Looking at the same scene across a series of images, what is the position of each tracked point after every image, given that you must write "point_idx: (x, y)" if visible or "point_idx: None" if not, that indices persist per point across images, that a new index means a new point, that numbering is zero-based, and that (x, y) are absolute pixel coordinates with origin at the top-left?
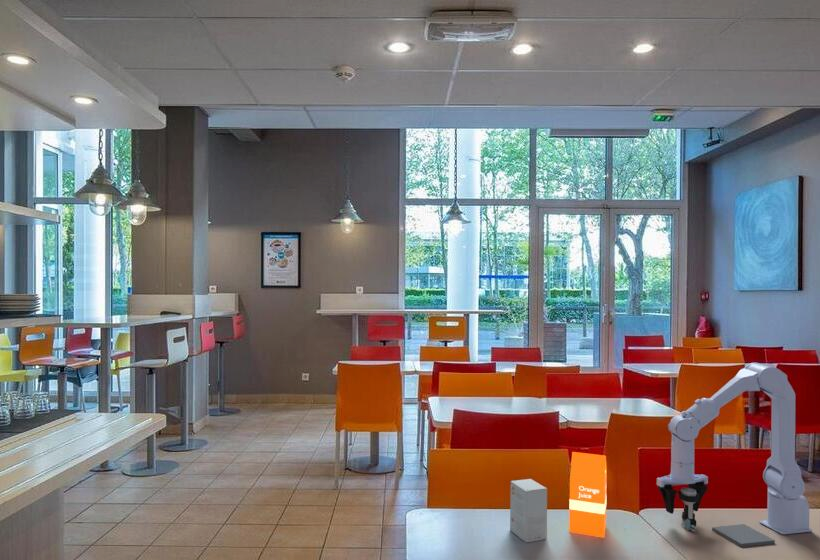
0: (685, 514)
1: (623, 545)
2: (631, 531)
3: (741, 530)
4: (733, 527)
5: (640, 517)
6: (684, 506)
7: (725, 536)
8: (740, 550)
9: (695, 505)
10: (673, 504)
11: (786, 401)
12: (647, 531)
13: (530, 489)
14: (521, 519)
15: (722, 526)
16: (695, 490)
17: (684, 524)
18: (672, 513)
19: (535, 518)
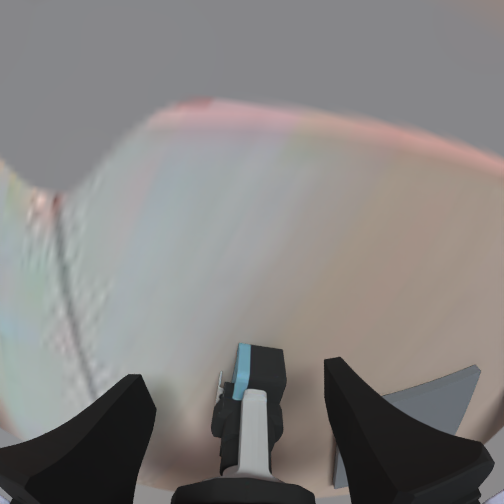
0: (220, 437)
1: (13, 417)
2: (19, 364)
3: (425, 422)
4: (424, 405)
5: (53, 246)
6: (241, 426)
7: (337, 453)
8: (314, 491)
9: (333, 421)
10: (137, 461)
11: None
12: (61, 379)
13: None
14: None
15: (392, 404)
16: None
17: (233, 376)
18: (152, 409)
19: None
